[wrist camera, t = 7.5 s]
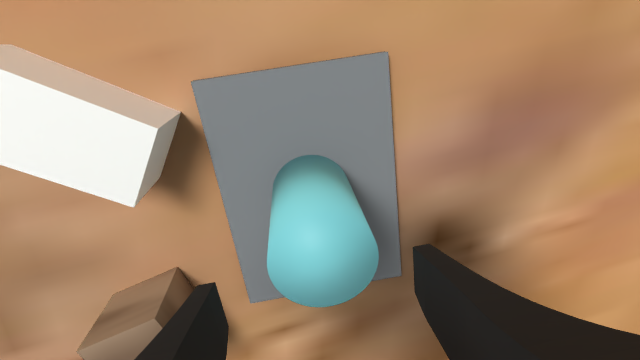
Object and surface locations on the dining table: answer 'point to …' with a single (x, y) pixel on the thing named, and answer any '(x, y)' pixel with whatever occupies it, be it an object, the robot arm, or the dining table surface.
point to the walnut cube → (135, 317)
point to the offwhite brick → (80, 128)
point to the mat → (301, 148)
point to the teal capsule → (318, 235)
